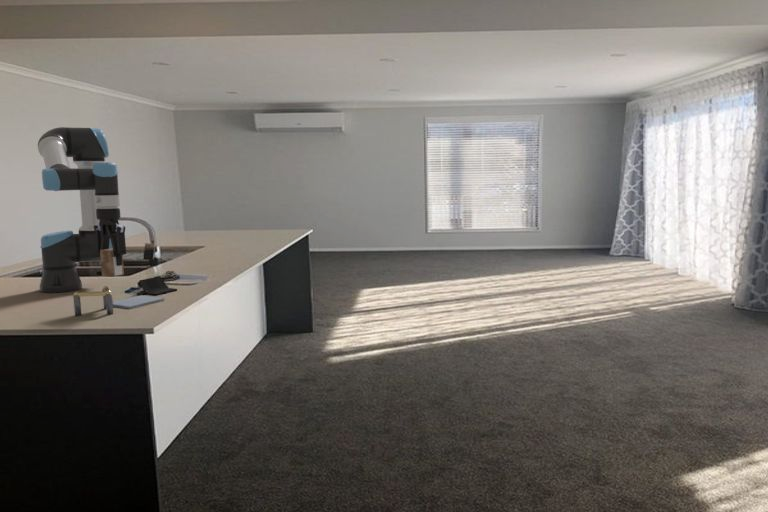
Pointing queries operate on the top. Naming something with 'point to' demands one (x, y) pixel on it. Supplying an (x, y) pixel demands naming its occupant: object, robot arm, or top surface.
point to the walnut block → (108, 262)
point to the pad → (136, 301)
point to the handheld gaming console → (155, 286)
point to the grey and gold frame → (106, 295)
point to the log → (169, 276)
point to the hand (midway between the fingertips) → (112, 274)
